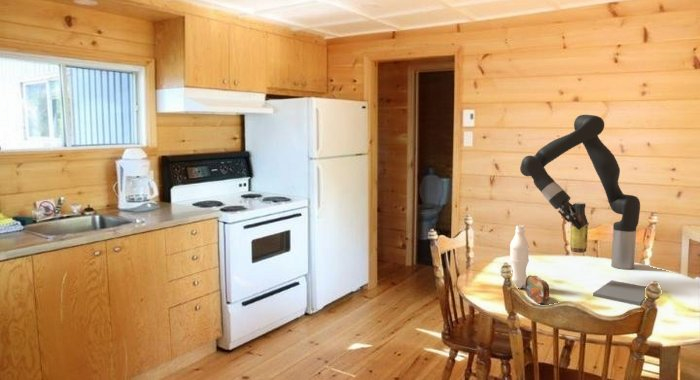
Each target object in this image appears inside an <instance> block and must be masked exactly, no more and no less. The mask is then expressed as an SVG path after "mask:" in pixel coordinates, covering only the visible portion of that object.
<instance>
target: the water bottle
mask: <svg viewBox="0 0 700 380" xmlns="http://www.w3.org/2000/svg"><path fill="white" fill-rule="evenodd" d="M525 232H526V231H525V226H524V225H520V224H519V225H516V226H515V234H514V236H513V239H511V242H510V245H509V248H510V249H509V252H510V253H509V255H510V257H509V261H510V264H511V270H512V269H513V277H512V280H513V282H514V283H515V284H516V286H517V287H518V288H519V289H518V290H520V289H526V286H525V285H526V279H527V277H528V276H527V267H528V265H529V261H530V260H529V251H530V250H529V248H530V244H529V242H528V240H527V238H526V236H525Z"/></svg>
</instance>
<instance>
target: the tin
mask: <svg viewBox="0 0 700 380" xmlns="http://www.w3.org/2000/svg"><path fill="white" fill-rule="evenodd" d="M525 286H526V288H525V292H526V295H527V297H528V298H530V299H531V300H533V301H534V302H535V303H537V304H547V303H548V302H549V299H550V291H551V289H550V285H549V284H548V282H547V281H546V280H544V279H542V278H541V277H539V276H537V275H531V274H530V275H529V274H528V276H527V279H526V285H525Z"/></svg>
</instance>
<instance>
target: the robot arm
mask: <svg viewBox="0 0 700 380" xmlns="http://www.w3.org/2000/svg"><path fill="white" fill-rule="evenodd" d="M573 128H574V129H573V130H574V131H572V132H570V133H568V134H565V135H564V136H561V137H558V138H557V139H554V140H552V141H550V142H548V143H547V144H546V145H544V146H542V147H541V148H540V149H538V151H537V152H536V153H535V154H534V155H527V156H524V157H523V159H522V161H521V163H520V167H519V168H520V171H519V172H520V173H521V174H522V175H523V176H525V177H531V178H532V179H533V184H534V186H535V187H536V188H537V189H538V191H540V192H541V194H542V195H543V197H544V198H545V199H546V200H547V202H548V203H549V204H550V205H551V206H552V207H553V208H554V209H555V210H557V212H558V213H559V215H561V216H562V218H563V219H565V221H566V222H568V223H569V222H570V223H573V224H574V226H575V227H576V228H577V229H578V230H579V229H581V228H582V227H583V225H582V224H581V223H580V222H579V221H578V220H577V219H576V217H575V216H574V215H575V203H571V202H570V201H571V196H570V195H569V194H568V193H567V192H566V191H565V190H564V189H563V187H561V186H560V185H559V184H558V183H557V182H556V181H555V180H554V179H553V177H552V176H550V174H549V173H548V172H547V170H546V168H545V167H546V165H549V163H551V162H553V161H554V160H555V159H557V158H559V157H560V156H562V155H563V154H564V153H566V152H568V151H570V150H572V149H574V148H575V147H577V146H579V145H581V144H583V147H584V149H585V150H586V152H587V155H588V156H589V158H590V159H589V160H590V161H591V163H592V165H593V168H594V170H595V171H596V172H595V173H596V174H597V176H598V178H599V179H600V182H601V185H602V187H603V189H604V193H605V195H606V199H607V201H608V204H609V206H610V208H611V211H613V212H614V213H615V214H617V215H622V217H621V220H619V221H615V222H614V223H613V225H612V226H613V227H612V228H613V229H612V245H611V246H612V247H611V264H610V265H611V267H613V268H614V269H615V268H617V269H621V270H631V269H634V268H635V258H636V257H635V256H636V239H637V227H638V224H639V220H640V213H641V201H640V199H639V197H638V196H635V195H630V194H624V193H623V191H622V189H621V187H620V185H619V178H620V173H621V170H620V169H621V168H620V166H619V163H618V161H617V159H616V157H615V155H614V154H613V153H612V151H611V150H610V149H609V148H608V147H607V146H606V145H605V144H604V143H603V142H602V141H601V139H600V138H599V135H600V134H602V132H603V131H604V128H605V121H604V118H602V117H600V116H598V115H594V114H593V115H592V114H580V115H579V116H577V117H576V118H575V119H574V123H573ZM588 226H589V222H588Z"/></svg>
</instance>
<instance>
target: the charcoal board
mask: <svg viewBox="0 0 700 380" xmlns="http://www.w3.org/2000/svg"><path fill="white" fill-rule="evenodd" d="M646 287H647V286H645V285H641V284H635V283H628V282H624V281H623V282H622V281H616V280H609V281H608V282H607V283H606V284H604V285H603V286H601V287H599V288H598V289H597V290H595V291H594V292H593V293H592V297H596V298H600V299H606V300H610V301H616V302H620V303H624V304H625V303H626V304H630V305H636V306H639V307H640V306H641V305H643V304H644V302H645V301H644V300H645V298H646V297H645V288H646ZM643 301H644V302H643Z"/></svg>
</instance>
